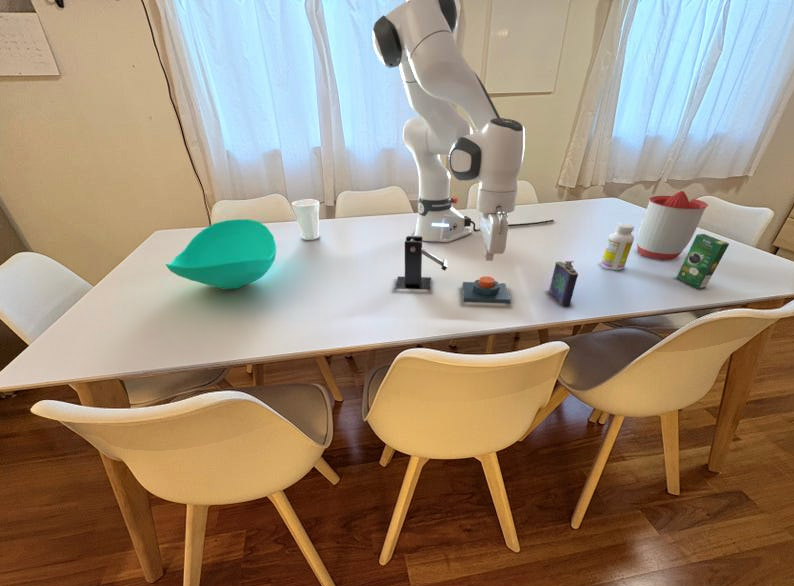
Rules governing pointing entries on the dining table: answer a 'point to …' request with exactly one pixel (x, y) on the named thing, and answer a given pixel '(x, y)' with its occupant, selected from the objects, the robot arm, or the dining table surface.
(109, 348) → the dining table surface
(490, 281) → the button
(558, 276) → the flask
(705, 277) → the coffee box
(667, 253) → the citrus juicer
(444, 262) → the lever
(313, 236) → the cup
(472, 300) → the button box
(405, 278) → the bracket
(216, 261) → the table top decor
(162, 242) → the dining table surface
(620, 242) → the supplement bottle
